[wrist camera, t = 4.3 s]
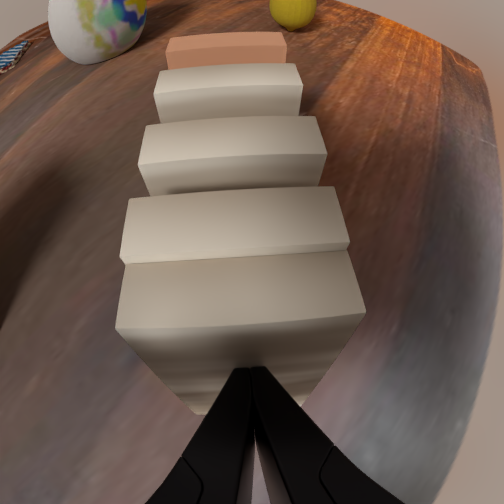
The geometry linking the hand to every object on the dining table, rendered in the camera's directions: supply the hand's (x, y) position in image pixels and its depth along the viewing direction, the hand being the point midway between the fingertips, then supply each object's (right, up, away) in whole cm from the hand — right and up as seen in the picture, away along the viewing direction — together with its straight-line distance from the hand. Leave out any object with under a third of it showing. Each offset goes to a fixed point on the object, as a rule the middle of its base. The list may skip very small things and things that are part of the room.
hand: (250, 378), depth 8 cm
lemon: (+5, +31, +23) cm, 39 cm away
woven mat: (-45, +37, +26) cm, 64 cm away
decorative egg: (-18, +29, +22) cm, 41 cm away
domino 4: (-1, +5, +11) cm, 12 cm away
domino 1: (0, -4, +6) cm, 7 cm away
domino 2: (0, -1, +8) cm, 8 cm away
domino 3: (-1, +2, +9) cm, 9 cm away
